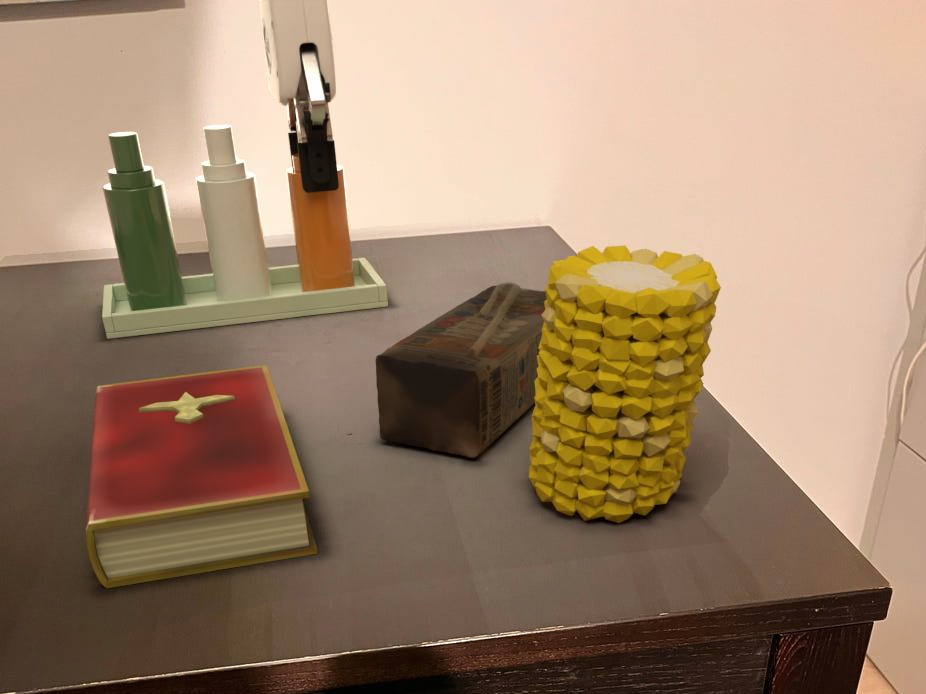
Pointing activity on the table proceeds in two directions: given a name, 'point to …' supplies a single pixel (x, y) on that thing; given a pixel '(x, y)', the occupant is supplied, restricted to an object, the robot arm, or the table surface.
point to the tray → (241, 303)
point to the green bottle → (142, 229)
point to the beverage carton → (463, 373)
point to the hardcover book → (193, 478)
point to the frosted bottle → (232, 220)
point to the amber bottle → (321, 233)
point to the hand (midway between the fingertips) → (315, 182)
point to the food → (619, 378)
